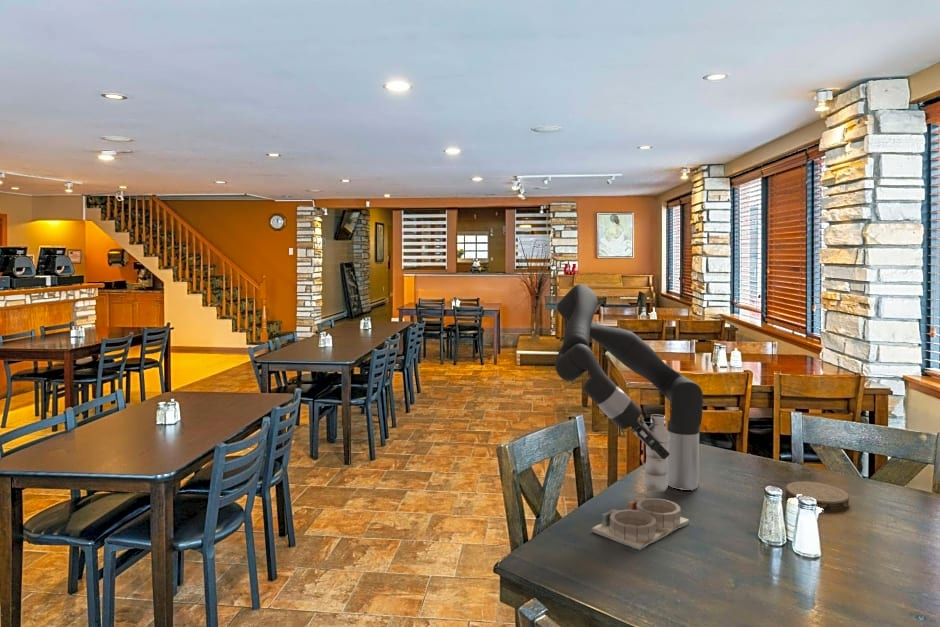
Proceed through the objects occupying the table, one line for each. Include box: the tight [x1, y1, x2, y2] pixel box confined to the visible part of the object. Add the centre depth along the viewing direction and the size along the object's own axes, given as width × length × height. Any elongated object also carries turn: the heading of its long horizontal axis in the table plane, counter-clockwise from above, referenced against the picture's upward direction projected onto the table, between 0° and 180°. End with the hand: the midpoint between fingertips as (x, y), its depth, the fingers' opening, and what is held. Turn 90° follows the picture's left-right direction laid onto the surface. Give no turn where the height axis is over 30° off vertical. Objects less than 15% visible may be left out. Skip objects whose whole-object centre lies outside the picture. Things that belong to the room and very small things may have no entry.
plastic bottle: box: [642, 413, 670, 493], centre depth 167 cm, size 6×7×20 cm
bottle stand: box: [591, 497, 690, 548], centre depth 166 cm, size 23×14×5 cm, turn 131°
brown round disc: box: [785, 481, 850, 512], centre depth 184 cm, size 16×16×3 cm
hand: (663, 452), depth 167 cm, fingers closed on plastic bottle, 6 cm apart
